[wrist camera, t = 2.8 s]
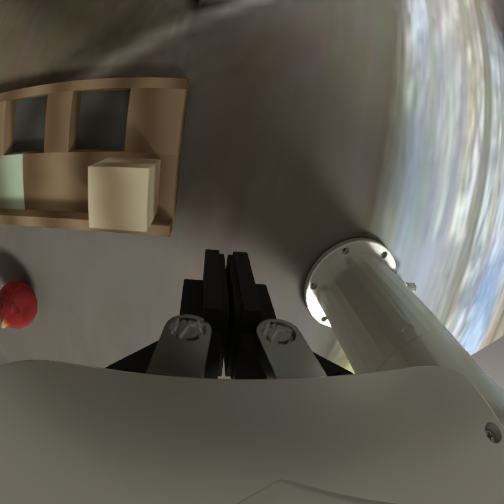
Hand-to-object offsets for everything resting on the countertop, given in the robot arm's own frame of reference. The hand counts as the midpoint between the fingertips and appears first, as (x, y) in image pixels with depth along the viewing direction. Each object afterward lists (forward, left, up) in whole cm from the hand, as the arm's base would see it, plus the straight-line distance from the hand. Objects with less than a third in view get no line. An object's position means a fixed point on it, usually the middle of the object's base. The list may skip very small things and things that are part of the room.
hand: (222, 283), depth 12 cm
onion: (+24, +15, -19) cm, 34 cm away
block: (+8, 0, -16) cm, 18 cm away
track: (+16, -3, -19) cm, 25 cm away
